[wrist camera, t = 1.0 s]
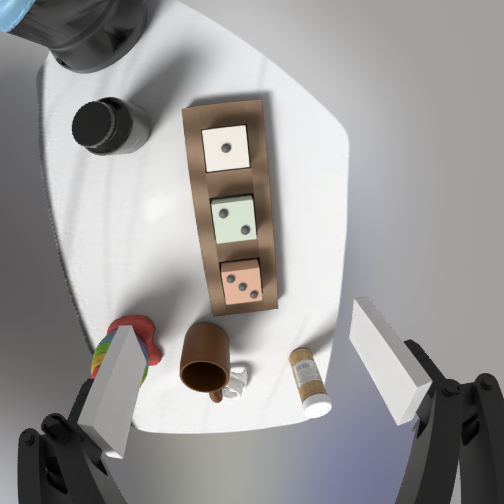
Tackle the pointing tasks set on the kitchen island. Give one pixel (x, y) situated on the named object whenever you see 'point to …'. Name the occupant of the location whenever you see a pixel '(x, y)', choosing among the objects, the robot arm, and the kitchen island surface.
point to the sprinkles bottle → (309, 384)
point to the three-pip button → (241, 281)
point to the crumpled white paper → (235, 385)
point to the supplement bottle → (110, 127)
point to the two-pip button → (234, 219)
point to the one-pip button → (226, 148)
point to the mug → (206, 360)
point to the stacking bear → (144, 336)
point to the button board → (232, 184)
